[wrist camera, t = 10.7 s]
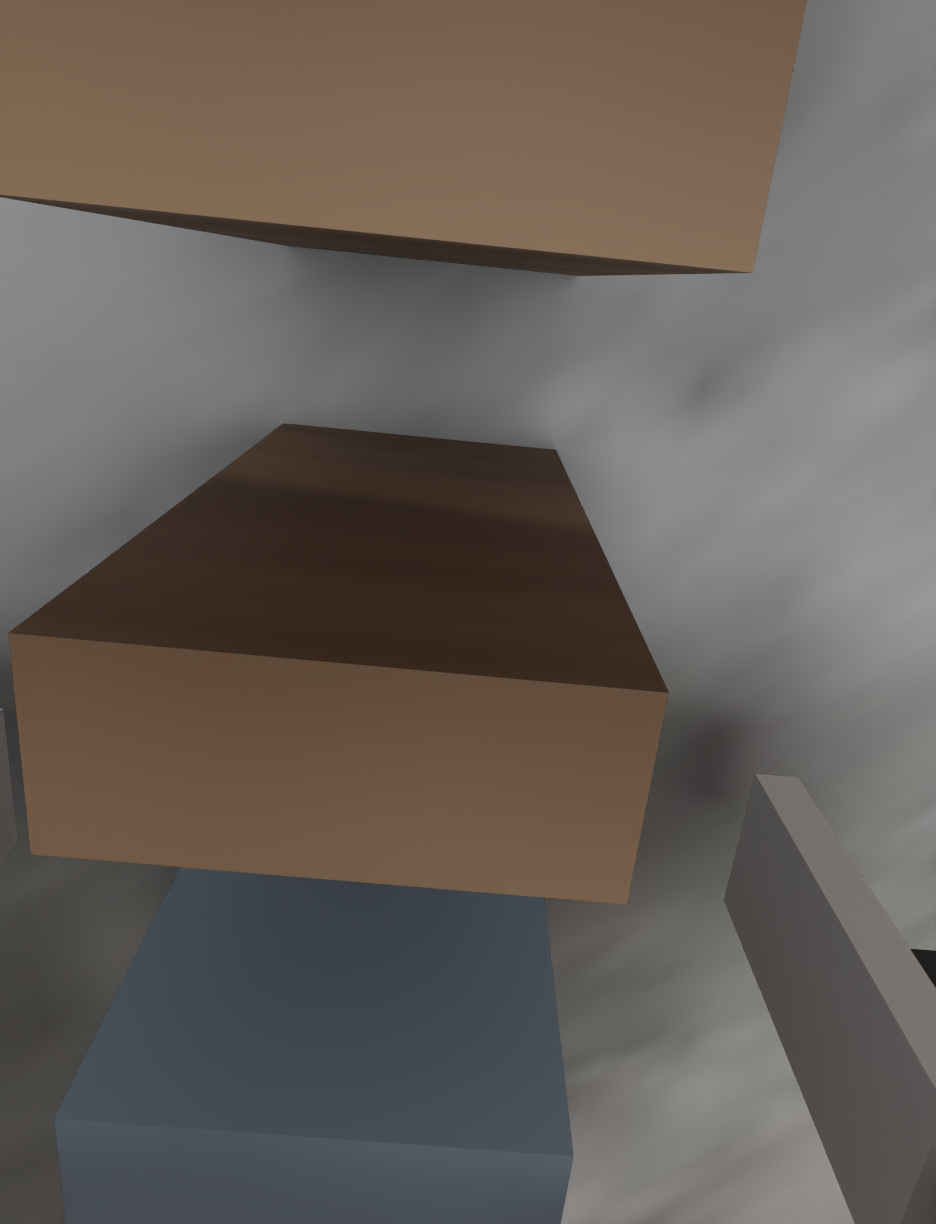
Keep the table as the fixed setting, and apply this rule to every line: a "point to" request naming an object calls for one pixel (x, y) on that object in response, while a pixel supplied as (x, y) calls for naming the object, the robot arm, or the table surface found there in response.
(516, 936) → the domino
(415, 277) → the table surface
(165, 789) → the domino
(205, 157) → the domino
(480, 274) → the table surface
